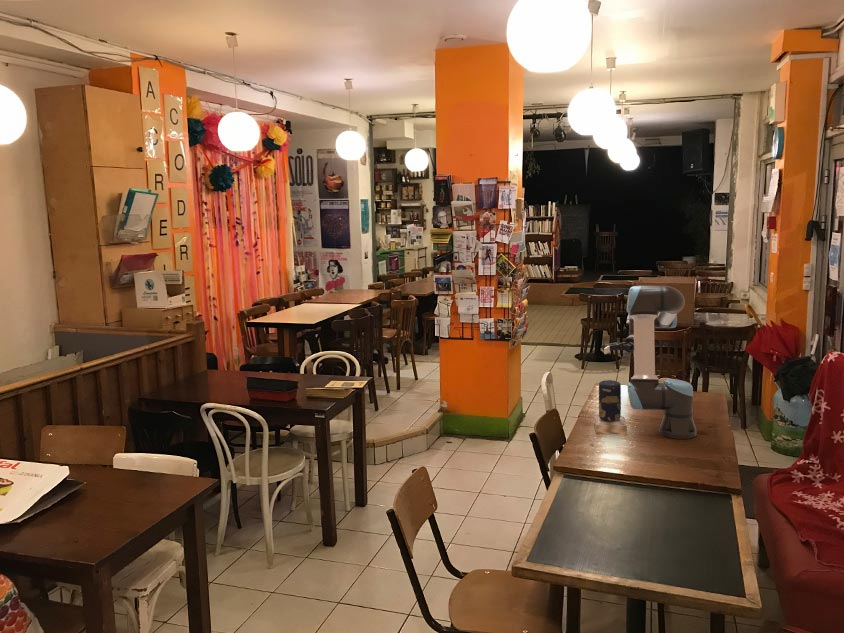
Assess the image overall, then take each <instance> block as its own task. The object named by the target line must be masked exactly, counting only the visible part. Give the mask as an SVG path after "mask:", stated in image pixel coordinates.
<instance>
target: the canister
mask: <svg viewBox="0 0 844 633" xmlns="http://www.w3.org/2000/svg"><path fill="white" fill-rule="evenodd" d="M621 387H622V384H621V383H620V381H617V380H612V379H607V380H601V381H600V382H599V383H598V416H599V418H600V419H602V420H605V421H616V420H619V419H620V418H621V416H622V391H621V390H622V388H621Z"/></svg>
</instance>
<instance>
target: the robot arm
mask: <svg viewBox="0 0 844 633" xmlns="http://www.w3.org/2000/svg"><path fill="white" fill-rule="evenodd" d="M685 301H686V299H685V296H684V295H683V293H682V292H681V291H680V290H678V289H677V288H676V287H673V286H670V285H633V286H631V287H630V288H629V290H628V295H627V301H626V313H628V316H629V318H628V325H629V326H628V328H629V329H628V336H627V337H626V338H624V339H623V340H622V342H617V341H615V342H611V343H607V344H603V345H602V351H603V354H604V355H607V354H608V353H610V352H611V351H624V352H626V353H629V354H631V353H633V363H634V364H633V366H634V367H633V369H634V374H633V376H632V377H630V381H629V382H627V384H626V386H627V396H628V399H629V400H628V401H629V405H630V407H631V409H633V410H641V411H644V410H646V411H649V410H650V411H663V416H662V418H661V419H662V420H661V421H660V425H659V429H658V433H659V434H660V435H661V436H664V437H666V438H670V439H678V440H688V439H692V438H695V437H696V436H697V426H696V423H695V421H694V418H693V406H694V402H693V401H694V388H693V387H694V386H693V385H692V384H691V383H690V382H688V381H684V380H681V379H678V378H677V379H676V378H667V379H664V381H663V382H659V380H660V379H659V378H658V377H657V375H656V365H655V361H656V360H655V359H656V358H655V356H656V355H655V347H656V346H655V329H674V328H676V327H677V325H678V317H677V314H679V313H680V312H682V310H683V309H684V307H685V304H686V302H685Z"/></svg>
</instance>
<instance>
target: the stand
mask: <svg viewBox="0 0 844 633" xmlns="http://www.w3.org/2000/svg"><path fill="white" fill-rule="evenodd" d="M594 428H595V429H596V430H595V434H596V435H617V434H627V435H628V425H627V421H626V418H625V416H622V415H621V418H620V419H619V420H616V421H605V420H602V419H600V418H599V415H597V416H596V415H594Z"/></svg>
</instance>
